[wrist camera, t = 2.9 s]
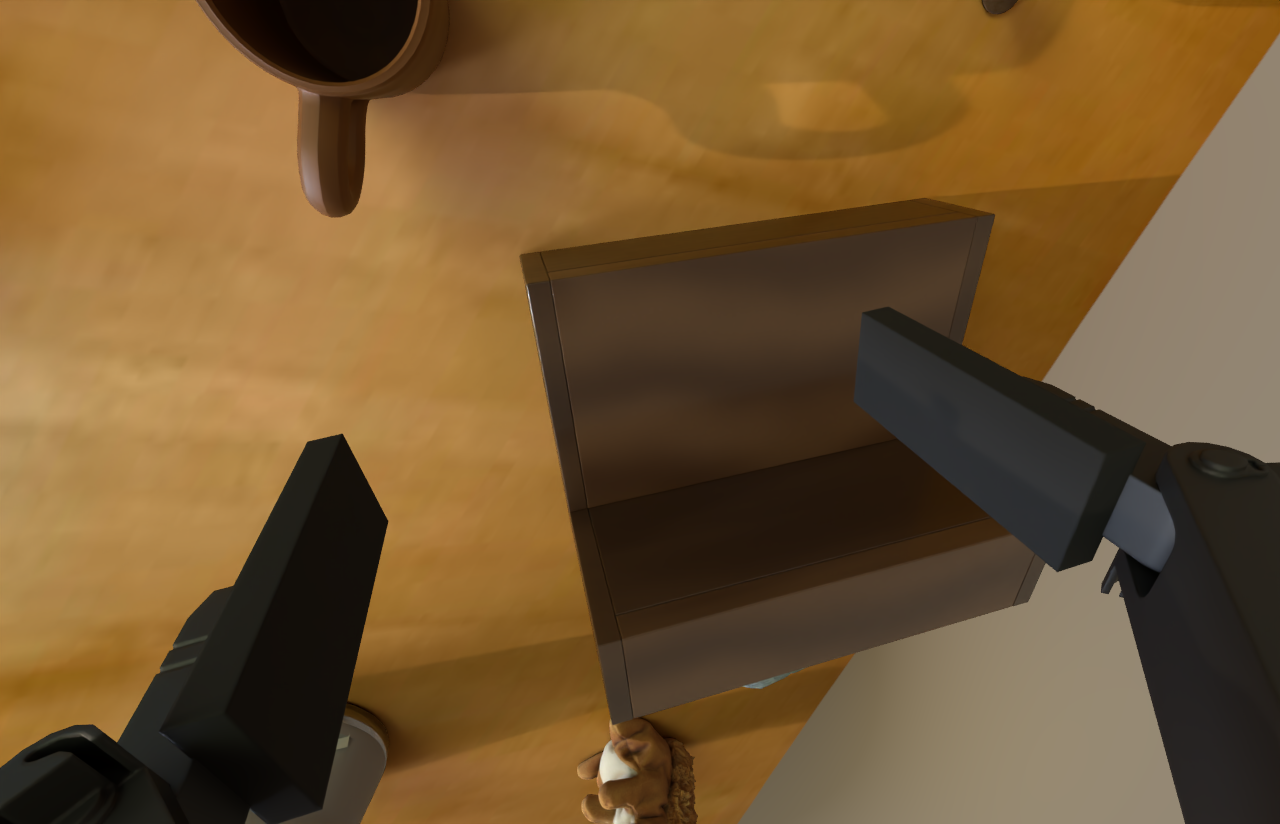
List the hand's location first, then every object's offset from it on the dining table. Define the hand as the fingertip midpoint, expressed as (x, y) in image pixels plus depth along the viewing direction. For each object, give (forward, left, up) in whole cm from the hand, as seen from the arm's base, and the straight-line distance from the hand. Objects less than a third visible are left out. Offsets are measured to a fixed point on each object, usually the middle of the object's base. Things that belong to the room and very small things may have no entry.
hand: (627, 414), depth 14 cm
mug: (-7, +9, -21) cm, 24 cm away
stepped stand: (+12, -12, -21) cm, 27 cm away
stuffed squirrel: (+1, -57, -21) cm, 61 cm away
